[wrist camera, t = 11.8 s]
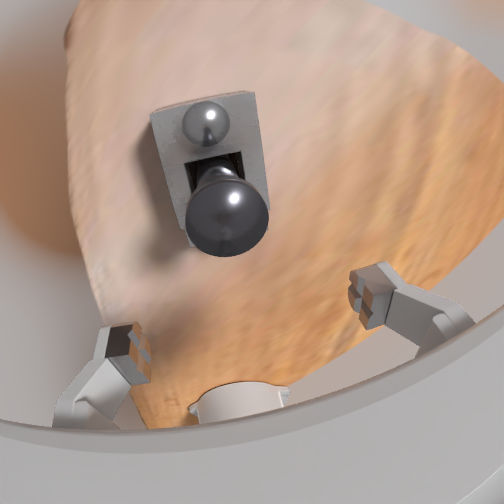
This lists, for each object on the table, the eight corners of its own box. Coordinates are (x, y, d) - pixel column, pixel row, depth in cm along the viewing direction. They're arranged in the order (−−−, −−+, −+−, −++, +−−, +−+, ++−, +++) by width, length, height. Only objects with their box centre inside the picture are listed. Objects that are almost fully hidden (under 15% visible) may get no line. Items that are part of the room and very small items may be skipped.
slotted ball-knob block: (263, 219, 27) (276, 248, 22) (190, 235, 26) (190, 268, 22) (244, 90, 20) (257, 92, 15) (157, 109, 19) (146, 115, 15)
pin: (243, 185, 24) (272, 247, 16) (194, 195, 24) (196, 264, 16) (235, 137, 22) (263, 174, 14) (182, 148, 21) (175, 193, 13)
